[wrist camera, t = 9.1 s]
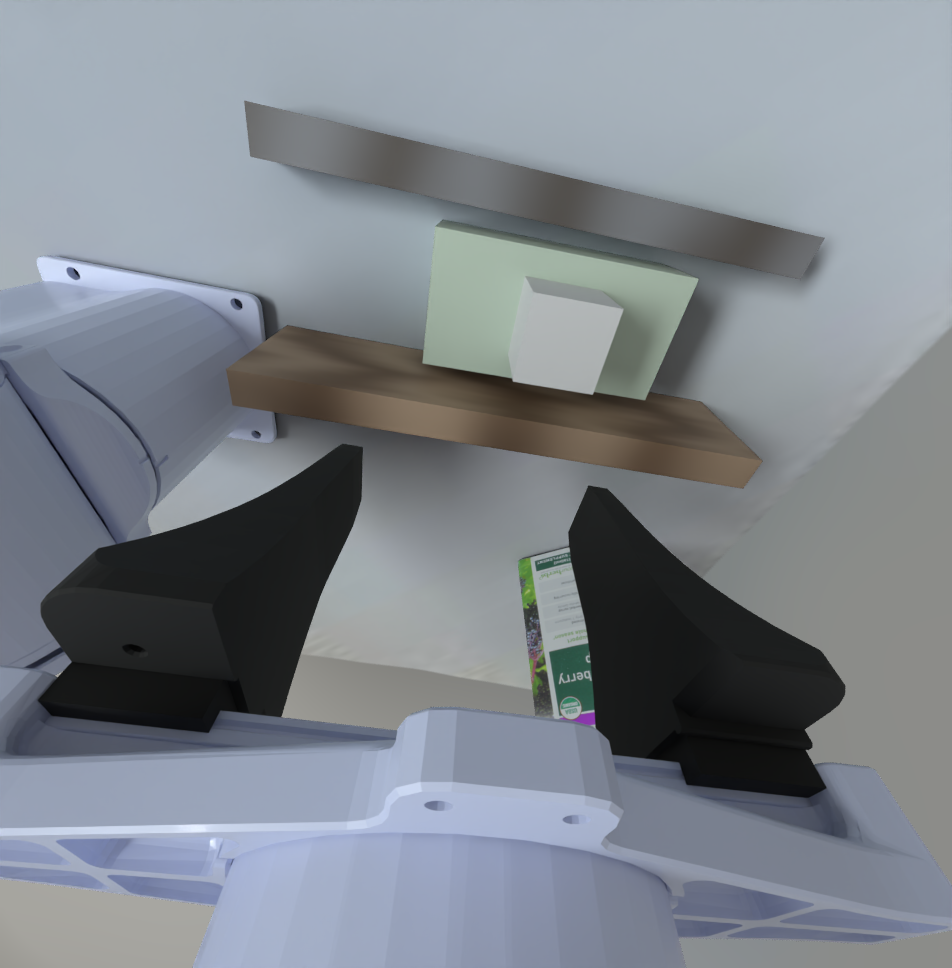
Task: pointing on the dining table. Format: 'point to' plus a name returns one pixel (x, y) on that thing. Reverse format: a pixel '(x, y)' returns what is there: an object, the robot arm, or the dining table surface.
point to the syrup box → (556, 638)
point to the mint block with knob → (550, 311)
